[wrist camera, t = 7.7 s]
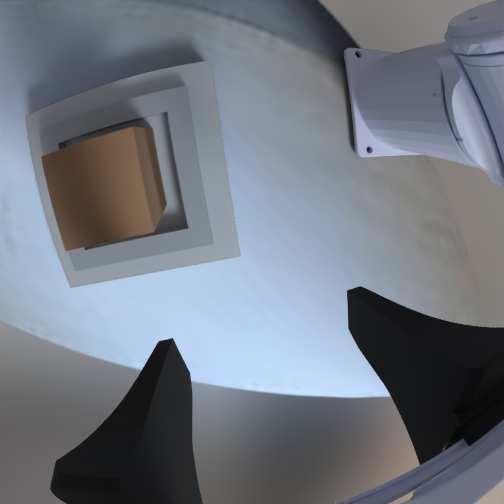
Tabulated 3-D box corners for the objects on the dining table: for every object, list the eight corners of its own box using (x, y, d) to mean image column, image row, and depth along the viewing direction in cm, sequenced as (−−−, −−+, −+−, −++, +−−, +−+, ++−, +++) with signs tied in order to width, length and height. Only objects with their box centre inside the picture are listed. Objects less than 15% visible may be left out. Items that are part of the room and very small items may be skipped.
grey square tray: (210, 67, 16) (211, 55, 13) (237, 244, 20) (243, 262, 18) (40, 116, 14) (17, 116, 12) (79, 274, 19) (65, 295, 17)
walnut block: (153, 128, 15) (132, 127, 10) (166, 204, 17) (154, 232, 12) (81, 148, 14) (41, 156, 10) (97, 219, 16) (65, 251, 12)
